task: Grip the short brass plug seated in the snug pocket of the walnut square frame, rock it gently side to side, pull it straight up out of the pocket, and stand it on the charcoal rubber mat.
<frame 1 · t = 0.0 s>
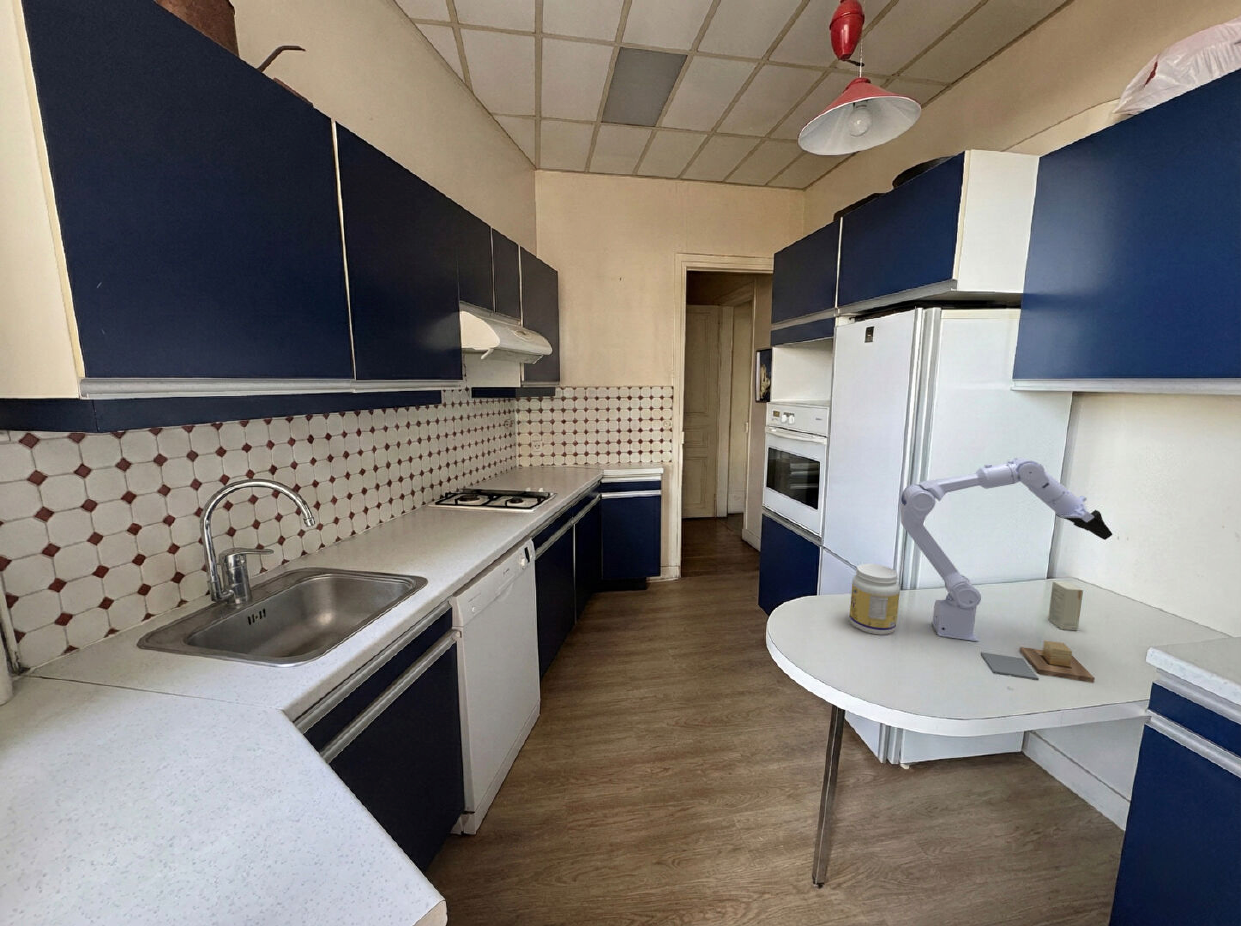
hand: (1099, 532, 125), 32 cm above the worktop, tool tilted 50°, fingers open, 7 cm apart
brass plug: (1054, 666, 124), resting in walnut square frame
skincare box: (1061, 625, 144), on the worktop
walnut square frame: (1054, 665, 124), on the worktop
supplement tub: (872, 626, 144), on the worktop
charcoal mat: (1008, 666, 123), on the worktop
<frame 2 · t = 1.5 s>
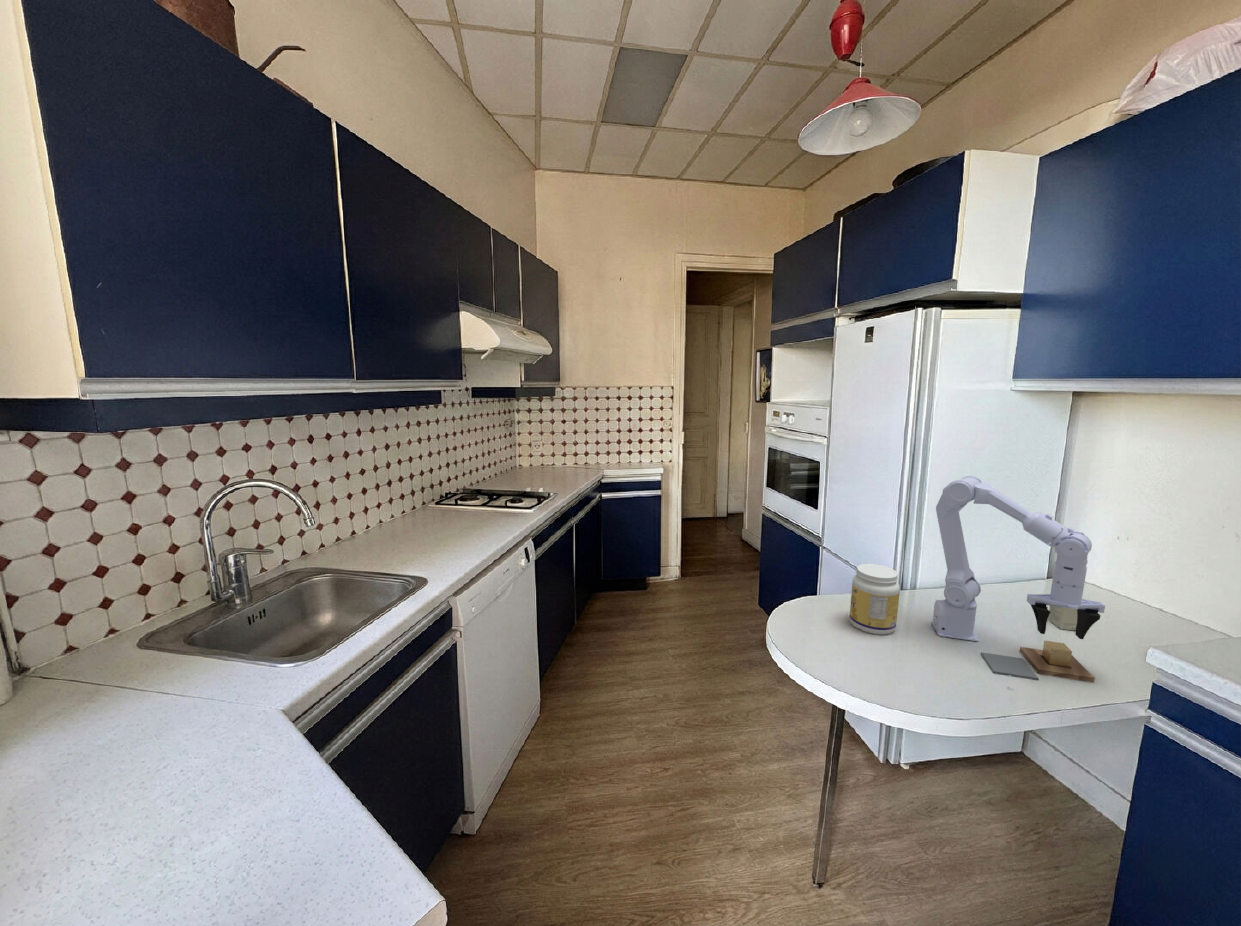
hand: (1059, 634, 122), 8 cm above the worktop, tool pointing down, fingers open, 7 cm apart
nothing on the worktop moved.
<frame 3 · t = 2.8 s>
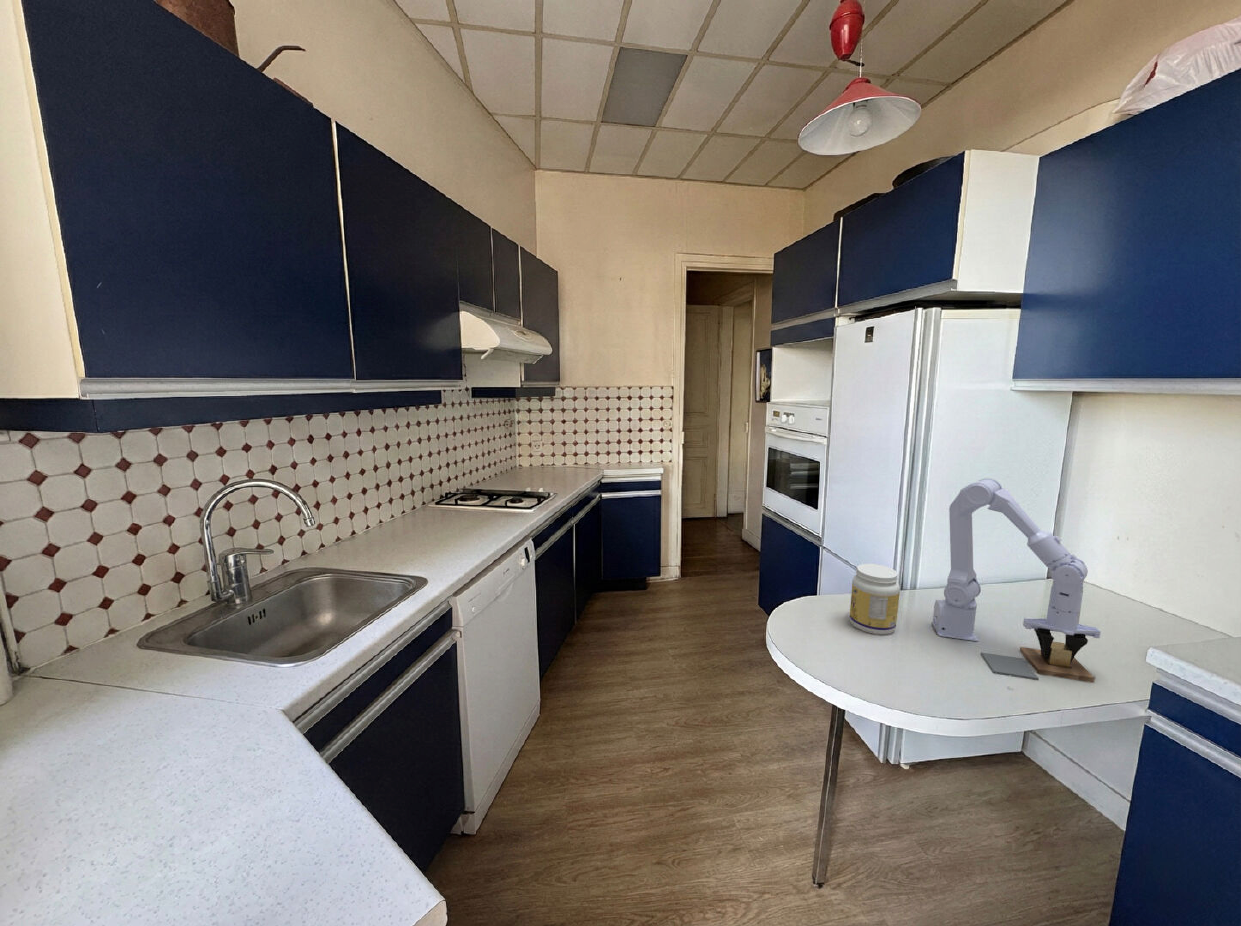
hand: (1055, 658, 123), 2 cm above the worktop, tool pointing down, fingers closed on brass plug, 4 cm apart
brass plug: (1054, 665, 124), resting in walnut square frame, touching gripper
everything else where it was.
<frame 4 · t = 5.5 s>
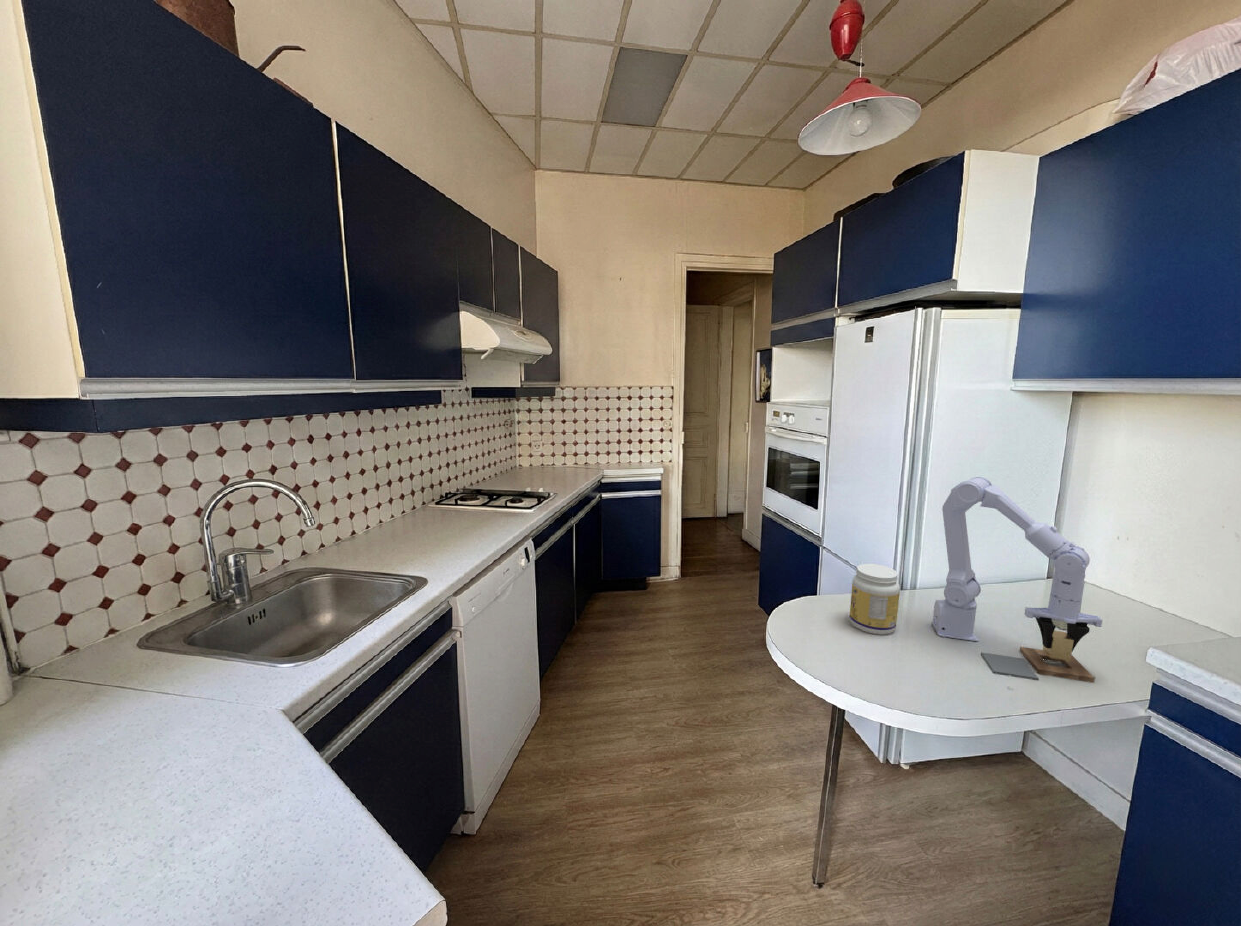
hand: (1057, 647, 123), 5 cm above the worktop, tool pointing down, fingers closed on brass plug, 4 cm apart
brass plug: (1056, 655, 123), point 3 cm above the worktop, touching gripper
everything else where it was.
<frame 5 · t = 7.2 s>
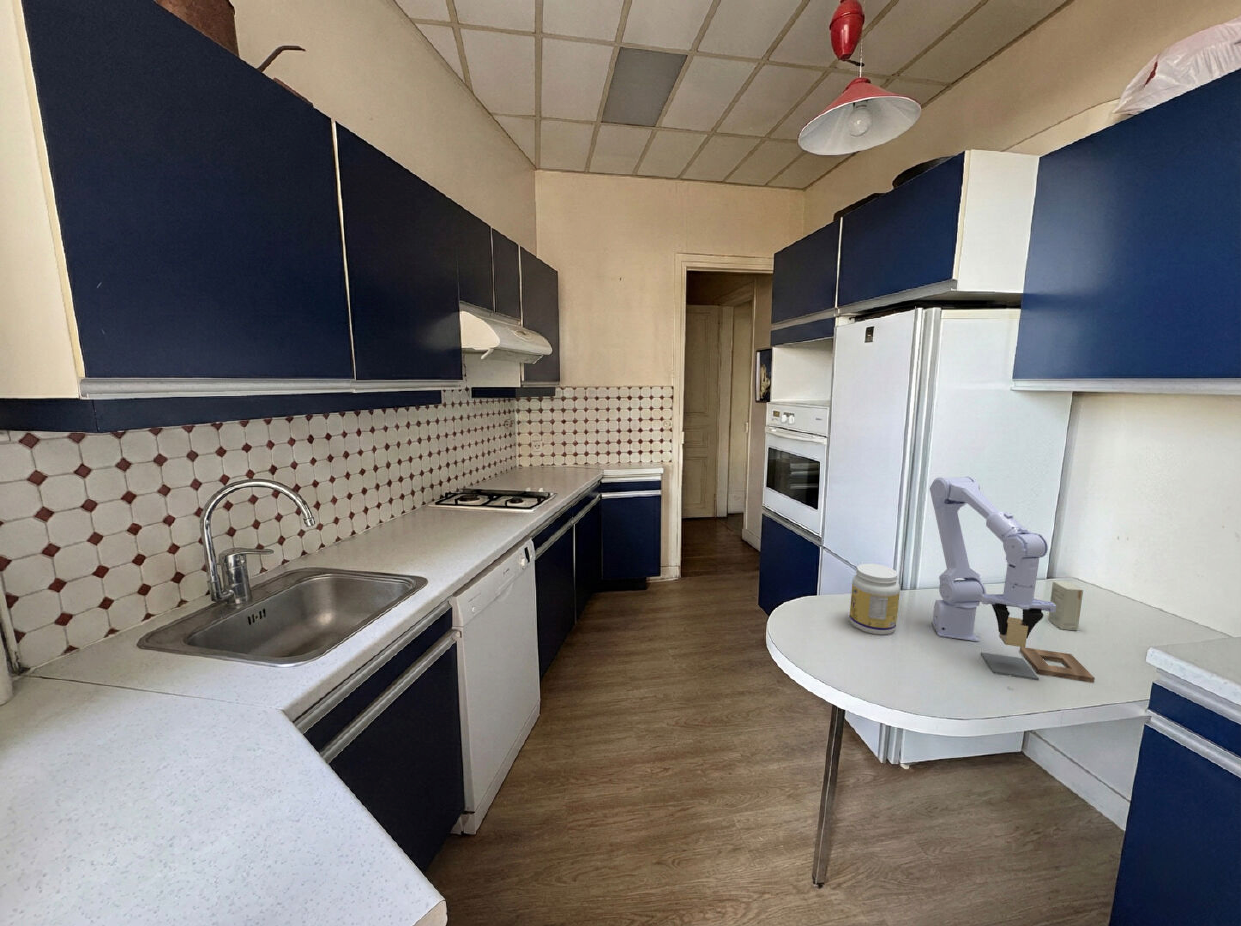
hand: (1012, 634, 122), 9 cm above the worktop, tool pointing down, fingers closed on brass plug, 4 cm apart
brass plug: (1011, 641, 122), point 7 cm above the worktop, touching gripper
everything else where it was.
when the fingers open (4 cm above the worktop, at t = 8.4 s): brass plug drops 1 cm, resting on charcoal mat.
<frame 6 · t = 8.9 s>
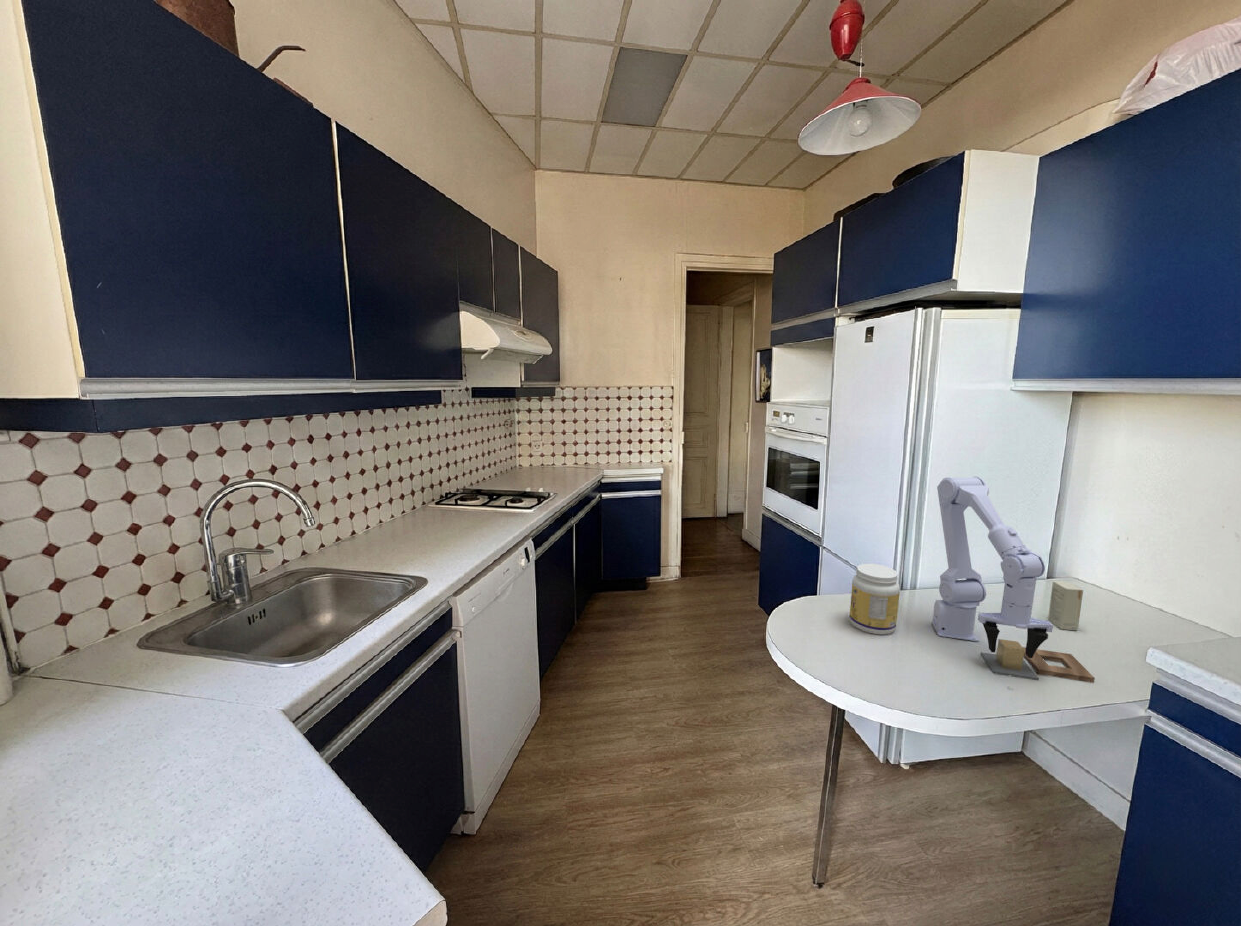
hand: (1010, 653, 123), 4 cm above the worktop, tool pointing down, fingers open, 7 cm apart
brass plug: (1008, 664, 123), resting on charcoal mat
everything else where it was.
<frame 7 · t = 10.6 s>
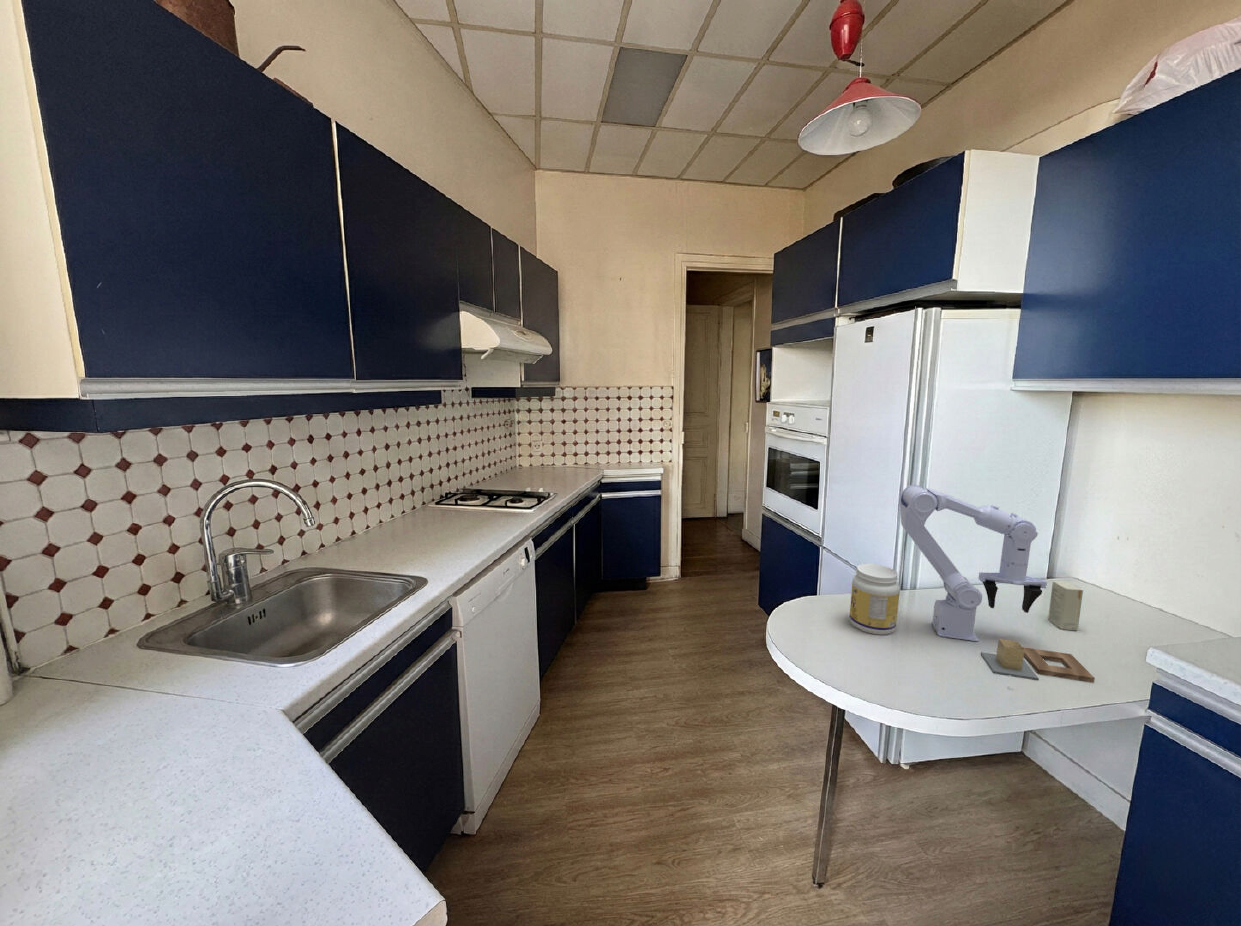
hand: (1007, 608, 135), 9 cm above the worktop, tool pointing down, fingers open, 7 cm apart
nothing on the worktop moved.
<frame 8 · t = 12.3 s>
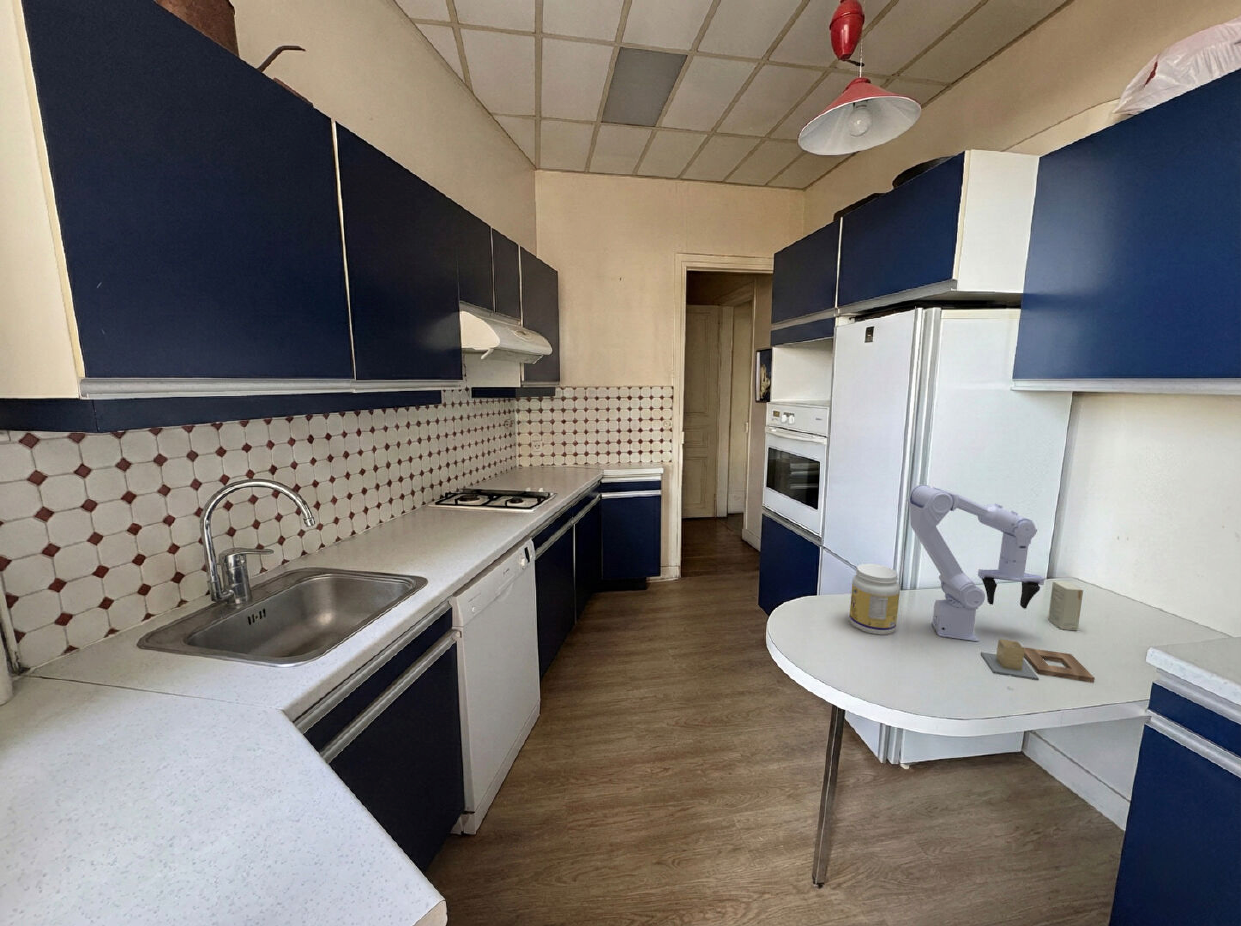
hand: (1006, 605, 138), 8 cm above the worktop, tool pointing down, fingers open, 7 cm apart
nothing on the worktop moved.
at the end: brass plug 0.1 cm off-centre on the charcoal mat, point 0.5 cm above the charcoal mat's base; brass plug tilted 0°; the gripper is holding nothing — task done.
